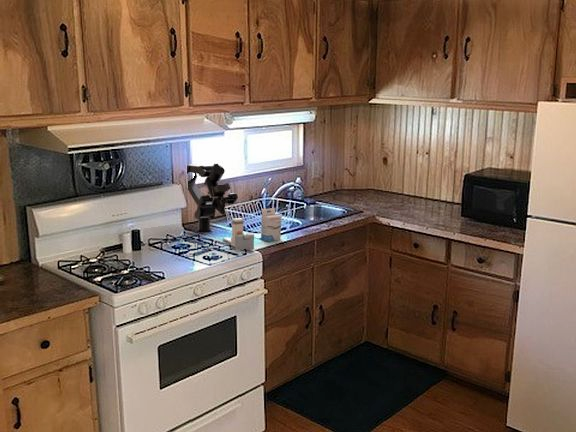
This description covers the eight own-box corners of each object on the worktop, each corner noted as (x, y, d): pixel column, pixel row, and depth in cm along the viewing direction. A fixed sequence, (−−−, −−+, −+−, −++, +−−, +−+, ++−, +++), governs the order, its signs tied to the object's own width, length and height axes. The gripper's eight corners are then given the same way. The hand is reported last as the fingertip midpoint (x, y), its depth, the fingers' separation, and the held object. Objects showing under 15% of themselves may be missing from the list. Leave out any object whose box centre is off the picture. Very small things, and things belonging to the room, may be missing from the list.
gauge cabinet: (234, 248, 278) (234, 234, 277) (249, 246, 282) (250, 233, 281) (238, 250, 275) (238, 236, 274) (253, 248, 279) (254, 234, 278)
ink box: (267, 242, 293) (268, 211, 290) (260, 239, 296) (261, 209, 293) (280, 239, 298) (281, 209, 295) (274, 237, 302) (275, 207, 299)
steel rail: (223, 240, 292) (223, 238, 292) (228, 240, 294) (228, 237, 293) (239, 248, 279) (239, 245, 279) (245, 247, 281) (245, 245, 280)
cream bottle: (230, 245, 284) (231, 218, 281) (240, 243, 286) (241, 217, 284) (236, 247, 280) (236, 220, 277) (246, 246, 282) (246, 219, 280)
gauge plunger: (236, 236, 281) (236, 231, 280) (241, 236, 282) (241, 230, 282) (245, 240, 275) (245, 235, 274) (250, 240, 276) (250, 234, 275)
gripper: (201, 178, 288) (211, 206, 282) (236, 176, 298) (247, 203, 292) (193, 192, 296) (203, 219, 290) (228, 189, 306) (238, 216, 300)
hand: (223, 214), depth 293 cm, fingers closed
